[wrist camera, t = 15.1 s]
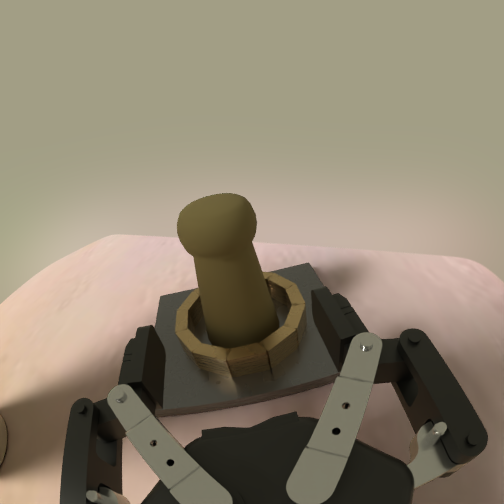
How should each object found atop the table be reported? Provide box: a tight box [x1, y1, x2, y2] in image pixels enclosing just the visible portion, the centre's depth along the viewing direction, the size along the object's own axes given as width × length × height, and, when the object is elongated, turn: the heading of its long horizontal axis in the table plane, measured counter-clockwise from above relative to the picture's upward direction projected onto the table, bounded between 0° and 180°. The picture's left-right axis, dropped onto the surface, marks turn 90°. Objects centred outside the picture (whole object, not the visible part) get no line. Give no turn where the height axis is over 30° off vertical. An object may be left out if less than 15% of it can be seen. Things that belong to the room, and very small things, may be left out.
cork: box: [177, 193, 279, 349], centre depth 20 cm, size 6×6×11 cm
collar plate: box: [155, 263, 341, 417], centre depth 23 cm, size 16×14×3 cm
